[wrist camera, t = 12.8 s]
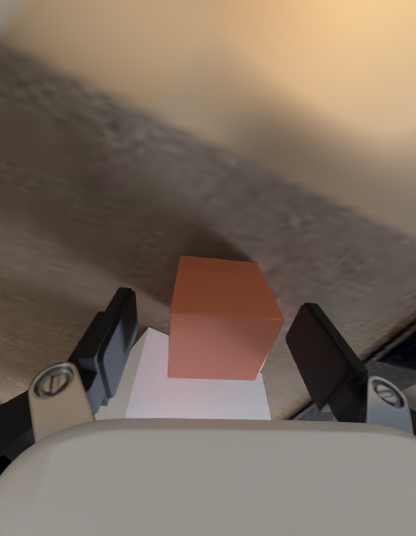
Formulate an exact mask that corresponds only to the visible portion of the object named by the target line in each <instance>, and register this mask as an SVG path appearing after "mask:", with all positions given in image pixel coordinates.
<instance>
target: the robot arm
mask: <svg viewBox="0 0 416 536" xmlns="http://www.w3.org/2000/svg"><path fill="white" fill-rule="evenodd" d="M137 331H138V320H137V308H136V296H135V291H132V289H131V288H122V287H120V288H119V289H118V290H117V292H116V294H115V295H114V297H113V299H112V300H111V302H110V304H109V305H108V307H107V309H106V310H105V312H101V311H100V312H98V313H97V315H96V316H95V318H94V319H93V321H92V322H91V324H90V326H89V327H88V329H87V330H86V332H85V334H84V335H83V337H82V338H81V340H80V341H79V343H78V345H77V346H76V348H75V349H74V351H73V352H72V354H71V356H70V357H69V359H68V360H67V362H58V363H55V364H53V365H50V366H48V367H47V368H45V369H43V370H42V371H41V372H40V373H38V374H37V375H36V376H35V378H34V379H33V380H32V382H31V384H30V386H29V389H28V390H27V391H25V392H24V393H22V394H20V395H18V396H16V397H15V398H13V399H11V400H9V401H8V402H6V403H4V404H2V405H0V536H416V411H414V410H412V409H411V408H410V407H409V403H408V400H407V399H406V397H405V396H404V394H403V393H402V392H401V391H400V390H399V389H398V388H397V387H396V386H395V385H394V384H392V383H391V382H389V381H388V380H386V379H384V378H382V377H378V376H371V377H368V376H367V373H368V372H369V371H368V370H367V369H366V367H365V366H364V365H363V363H362V362H361V361H360V359H359V358H358V357H357V355H356V354H355V353H354V351H353V350H352V349H351V348H350V346H349V345H348V344H347V342H346V341H345V340H344V338H343V337H342V336H341V334H340V333H339V332H338V330H337V329H336V328H335V326H334V325H333V324H332V322H331V321H330V320H329V319H328V317H327V316H326V315H325V313H324V312H323V311H322V309H321V308H320V307H319V305H318V304H316V303H305V304H304V305H302V306H301V307H300V309H299V311H298V313H297V315H296V317H295V319H294V321H293V323H292V325H291V327H290V329H289V331H288V333H287V335H286V342H287V345H288V347H289V349H290V351H291V354H292V356H293V358H294V360H295V363H296V365H297V367H298V369H299V372H300V374H301V376H302V378H303V381H304V383H305V385H306V387H307V390H308V392H309V394H310V396H311V399H312V401H313V402H314V403H315V404H316V405H317V407H318V409H319V411H324V412H330V411H332V413H333V415H334V417H333V422H327V421H289V420H244V419H187V418H122V419H105V420H98V421H96V418H95V414H96V413H98V411H99V408H100V406H107V405H108V402H109V400H110V398H114V396H115V394H116V391H117V389H118V386H119V383H120V380H121V377H122V374H123V371H124V369H125V366H126V363H127V360H128V357H129V354H130V351H131V348H132V346H133V343H134V340H135V337H136V334H137Z"/></svg>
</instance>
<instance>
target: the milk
mask: <svg viewBox="0 0 416 536" xmlns="http://www.w3.org/2000/svg"><path fill="white" fill-rule="evenodd" d="M168 346H169V335H167V334H164V333H162V332H159V331H157V330H155V329H152V328H150V327H149V328H148V329H147V330H146V331H145V333H144V334H143V335H142V336H141V338H140V339H139V340H138V341H137V343H136V344H135V345H134V346H133V348H132V349H131V351H130V354H129V357H128V360H127V363H126V366H125V369H124V371H123V374H122V377H121V380H120V383H119V386H118V389H117V391H116V394H115V396H114V398H110V400H109V402H108V405H107V406H100V408H99V411H98V413H96V414H95V418H96V421H98V420H105V419H122V418H187V419H244V420H271V417H270V412H269V408H268V403H267V398H266V393H265V389H264V384H263V379H262V374H261V373H259V375H258V377H257V379H256V380H255V381H247V380H218V379H189V378H168V376H167V372H168Z"/></svg>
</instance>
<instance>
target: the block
mask: <svg viewBox="0 0 416 536" xmlns="http://www.w3.org/2000/svg"><path fill="white" fill-rule="evenodd" d="M283 322H284V317H283V315H282V313H281V311H280V309H279V307H278V305H277V303H276V301H275V299H274V297H273V295H272V293H271V291H270V289H269V287H268V285H267V283H266V281H265V279H264V277H263V275H262V272H261V270H260V268H259V266H258V264H257V263H256V262H247V261H237V260H227V259H216V258H206V257H196V256H186V255H180V258H179V264H178V269H177V275H176V280H175V286H174V291H173V297H172V302H171V308H170V319H169V346H168V372H167V376H168V378H189V379H218V380H247V381H255V380H256V379H257V377H258V375H259V372H260V370H261V368H262V366H263V364H264V362H265V360H266V358H267V356H268V354H269V352H270V349H271V347H272V345H273V343H274V341H275V339H276V337H277V335H278V333H279V331H280V328H281V326H282V324H283Z"/></svg>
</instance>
